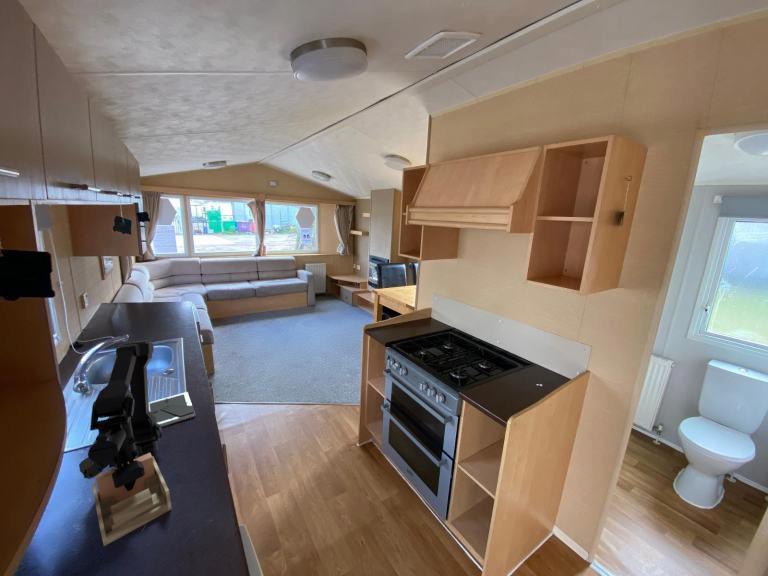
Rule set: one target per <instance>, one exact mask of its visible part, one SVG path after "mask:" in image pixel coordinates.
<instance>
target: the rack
mask: <svg viewBox="0 0 768 576" xmlns="http://www.w3.org/2000/svg"><path fill="white" fill-rule="evenodd" d="M152 459H153V465H154V471H155V476H153V477H151V478H149V479H146V480H145V485H146V489H148V488H149V491H150V493H151V495H153V494H155V493H157V495H158V498H159V500H160V506H159V507H157V508H155V509H153V510H151V511H149V512H147V513H145V514H143V515H142V516H140V517H138V518H136V519H134V520H132V521H130V522H128V523H126V524H125V525H123V526H121V527H119V528H117V529H115V530H113V531H112V526H111V522H110V517H109V516H111V515H112V513H111V508H110V507H111V506H113V505H115V503H114V498H113V495H112V496H110V497H108V498H106V499H104V500H102V501H101V500H100V495H99V491H98V487H97V482H96V481H93V482H91V487H92V492H93V497H94V498H93V499H94V503H95V509H96V513H97V514H96V515H97V520H98V525H99V530H100V535H101V539H102V543H103V544H102V545H103V547H106V546H108V545H109V544H111V543H112V542H115V541H116V540H118V539H121V538H122V537H124V536H126V535H127V534H129V533H131V532H133V531H135V530H137V529H138V528H140V527H142V526H144V525H145V524H147V523H149V522H151V521H153V520H155V519H156V518H158V517H160V516H162V515H164V514H167V513H168V512H170V511H171V510H172V509H173V508H172V501H171V495H170V494H171V493H170V489H169V488H168V484H167V483H166V481H165V479H164V476H163V475H162V472H161V470H160V467H159V466H158V463H157V461H156V459H155V457H152Z"/></svg>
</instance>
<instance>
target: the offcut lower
mask: <svg viewBox="0 0 768 576" xmlns="http://www.w3.org/2000/svg"><path fill="white" fill-rule="evenodd" d="M151 496H152V501H153V505H152V506H150V507H148V508H146V509H144V510H142V511H140V512H138V513H137V514H135V515H133V516H131V517H129V518H127V519H125V520H123V521H121V522H119V523H117V524H115V525H114V522H113V517H112V515H111V516H109V517H110V522H111V526H112V531H113V530H115V529H117V528H119V527H121V526H123V525H125V524H126V523H128V522H130V521H132V520H134V519H136V518H138V517H140V516H142V515H143V514H145V513H147V512H149V511H151V510H153V509H155V508H157V507H159V506H160V500H159V498H158V495H157V493H155V494H153V495H151Z"/></svg>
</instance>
